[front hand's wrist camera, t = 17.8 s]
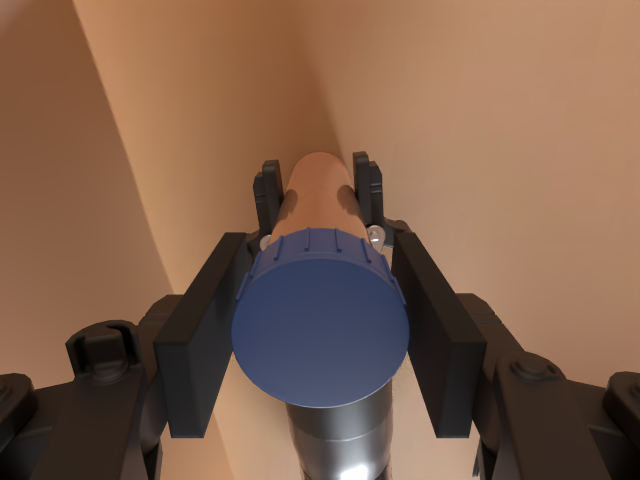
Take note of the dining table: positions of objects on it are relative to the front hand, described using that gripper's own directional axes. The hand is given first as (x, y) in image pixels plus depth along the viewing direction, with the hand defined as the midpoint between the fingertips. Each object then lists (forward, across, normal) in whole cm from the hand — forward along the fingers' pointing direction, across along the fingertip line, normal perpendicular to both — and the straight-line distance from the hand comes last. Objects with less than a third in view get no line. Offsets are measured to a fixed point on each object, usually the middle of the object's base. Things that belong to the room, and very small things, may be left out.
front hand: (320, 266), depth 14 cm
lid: (-4, 0, 0) cm, 4 cm away
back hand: (+8, 0, -3) cm, 8 cm away
